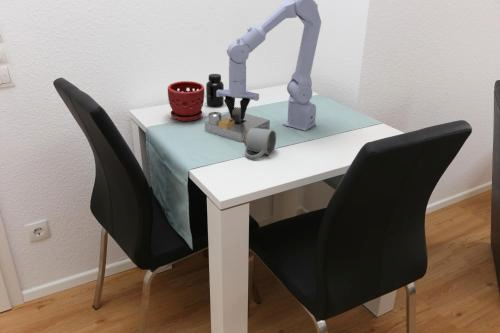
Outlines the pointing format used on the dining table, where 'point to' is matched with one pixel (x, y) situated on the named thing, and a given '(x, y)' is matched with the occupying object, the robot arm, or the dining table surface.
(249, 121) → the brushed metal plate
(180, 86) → the plant pot
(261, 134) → the ceramic mug
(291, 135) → the dining table surface
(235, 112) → the metal block
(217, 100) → the supplement bottle
